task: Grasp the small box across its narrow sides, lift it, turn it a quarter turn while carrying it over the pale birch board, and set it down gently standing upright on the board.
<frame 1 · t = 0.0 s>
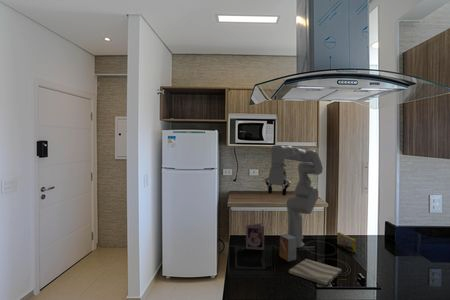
hand: (277, 194, 174), 37 cm above the counter, tool pointing down, fingers open, 9 cm apart
small box: (287, 258, 169), on the counter
birch board: (315, 272, 151), on the counter
candy box: (346, 248, 187), on the counter
greeting card: (255, 248, 185), on the counter
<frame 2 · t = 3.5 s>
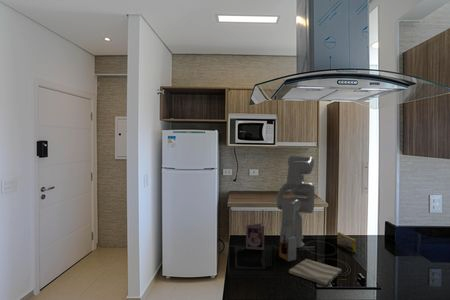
hand: (287, 251, 169), 4 cm above the counter, tool pointing down, fingers closed on small box, 7 cm apart
small box: (287, 258, 169), on the counter, touching gripper
everything else where it was.
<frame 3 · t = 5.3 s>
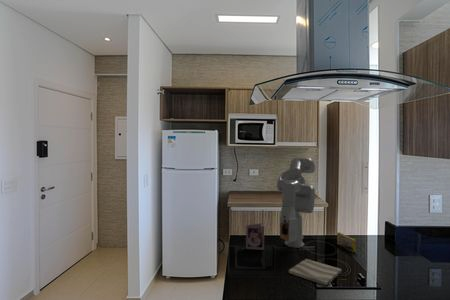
hand: (288, 232, 169), 15 cm above the counter, tool pointing down, fingers closed on small box, 7 cm apart
small box: (288, 239, 169), point 11 cm above the counter, touching gripper
everything else where it was.
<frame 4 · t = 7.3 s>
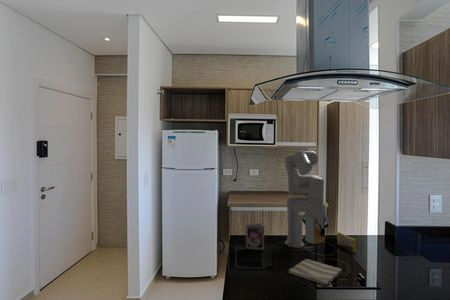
hand: (315, 234, 151), 20 cm above the counter, tool pointing down, fingers closed on small box, 7 cm apart
small box: (314, 241, 151), point 16 cm above the counter, touching gripper
everything else where it was.
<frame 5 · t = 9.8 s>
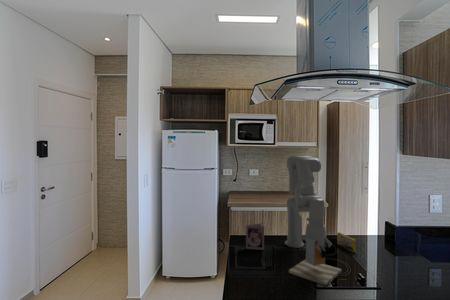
hand: (315, 255, 150), 9 cm above the counter, tool pointing down, fingers closed on small box, 7 cm apart
small box: (315, 263, 150), point 5 cm above the counter, touching gripper
everything else where it was.
when the fingers open (7 cm above the counter, at t = 11.5 s): small box drops 1 cm, resting on birch board.
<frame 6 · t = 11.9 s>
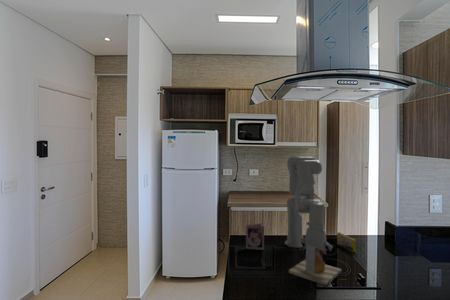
hand: (315, 258, 150), 7 cm above the counter, tool pointing down, fingers open, 9 cm apart
small box: (315, 269, 151), point 1 cm above the counter, touching birch board
everything else where it was.
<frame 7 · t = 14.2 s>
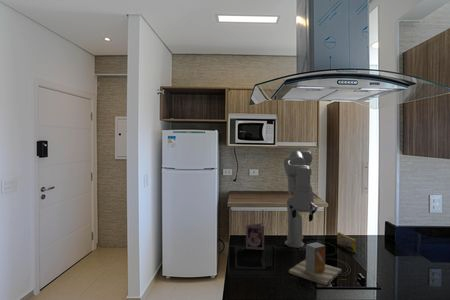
hand: (302, 219, 161), 25 cm above the counter, tool pointing down, fingers open, 9 cm apart
nothing on the counter moved.
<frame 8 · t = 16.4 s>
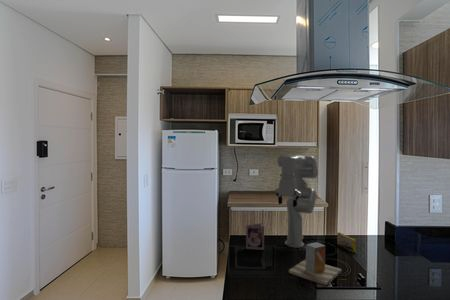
hand: (287, 205, 173), 30 cm above the counter, tool pointing down, fingers open, 9 cm apart
nothing on the counter moved.
at the end: small box inside the target area on the birch board (0.1 cm from its centre), point 1.3 cm above the birch board's base; small box tilted 0°; the gripper is holding nothing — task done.
